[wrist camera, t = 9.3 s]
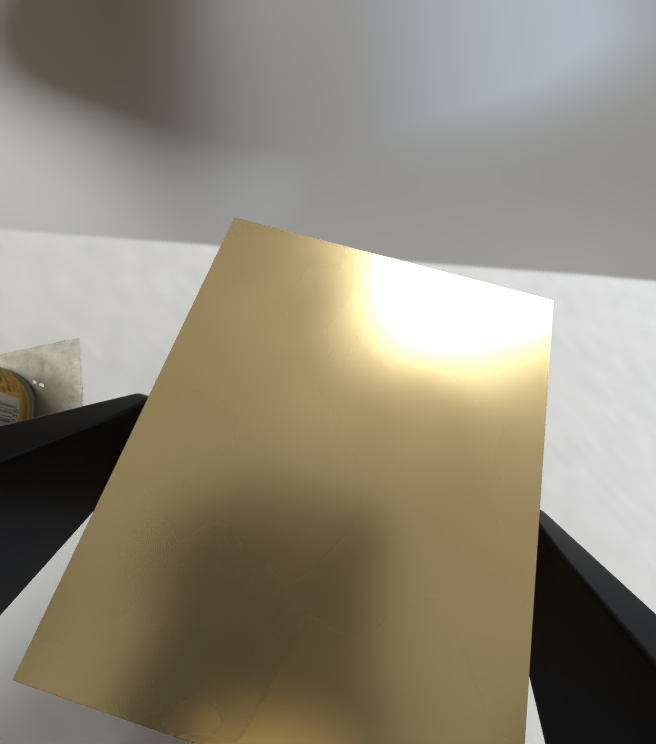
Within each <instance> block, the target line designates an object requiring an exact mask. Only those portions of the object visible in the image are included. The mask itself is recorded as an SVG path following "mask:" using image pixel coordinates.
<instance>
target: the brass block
mask: <svg viewBox="0 0 656 744" xmlns="http://www.w3.org/2000/svg"><path fill="white" fill-rule="evenodd" d="M552 312H553V300H549V299H545V298H541V297H537V296H534V295H530V294H526V293H522V292H518V291H514V290H511V289H507V288H503V287H499V286H495V285H491V284H488V283H484V282H480V281H476V280H472V279H468V278H465V277H461V276H457V275H453V274H449V273H446V272H442V271H438V270H434V269H430V268H426V267H423V266H419V265H415V264H411V263H407V262H403V261H400V260H396V259H392V258H388V257H384V256H380V255H377V254H373V253H369V252H365V251H361V250H357V249H353V248H350V247H346V246H342V245H338V244H334V243H330V242H327V241H323V240H319V239H315V238H311V237H308V236H304V235H300V234H296V233H292V232H288V231H284V230H281V229H277V228H273V227H269V226H265V225H261V224H257V223H254V222H250V221H246V220H242V219H239V218H234V220H233V222H232V224H231V226H230V228H229V230H228V232H227V234H226V236H225V238H224V241H223V243H222V245H221V247H220V249H219V251H218V253H217V255H216V257H215V259H214V261H213V263H212V265H211V268H210V270H209V272H208V274H207V276H206V278H205V280H204V282H203V284H202V286H201V288H200V290H199V293H198V295H197V297H196V299H195V301H194V303H193V305H192V307H191V309H190V311H189V313H188V316H187V318H186V320H185V322H184V324H183V326H182V328H181V330H180V332H179V334H178V336H177V338H176V341H175V343H174V345H173V347H172V349H171V351H170V353H169V355H168V357H167V359H166V361H165V364H164V366H163V368H162V370H161V372H160V374H159V376H158V378H157V380H156V382H155V384H154V386H153V389H152V391H151V393H150V395H149V397H148V399H147V401H146V403H145V405H144V407H143V409H142V412H141V414H140V416H139V418H138V420H137V422H136V424H135V426H134V428H133V430H132V432H131V434H130V437H129V439H128V441H127V443H126V445H125V447H124V449H123V451H122V453H121V455H120V457H119V460H118V462H117V464H116V466H115V468H114V470H113V472H112V474H111V476H110V478H109V480H108V482H107V485H106V487H105V489H104V491H103V493H102V495H101V497H100V499H99V501H98V503H97V505H96V508H95V510H94V512H93V514H92V516H91V518H90V520H89V522H88V524H87V526H86V528H85V530H84V533H83V535H82V537H81V539H80V541H79V543H78V545H77V547H76V549H75V551H74V553H73V556H72V558H71V560H70V562H69V564H68V566H67V568H66V570H65V572H64V574H63V576H62V578H61V581H60V583H59V585H58V587H57V589H56V591H55V593H54V595H53V597H52V599H51V601H50V604H49V606H48V608H47V610H46V612H45V614H44V616H43V618H42V620H41V622H40V624H39V626H38V629H37V631H36V633H35V635H34V637H33V639H32V641H31V643H30V645H29V647H28V649H27V652H26V654H25V656H24V658H23V660H22V662H21V664H20V666H19V668H18V670H17V672H16V674H15V677H14V679H13V681H16V682H19V683H22V684H25V685H28V686H31V687H33V688H36V689H39V690H42V691H45V692H48V693H51V694H54V695H56V696H59V697H62V698H65V699H68V700H71V701H74V702H77V703H80V704H82V705H85V706H88V707H91V708H94V709H97V710H100V711H103V712H105V713H108V714H111V715H114V716H117V717H120V718H123V719H126V720H128V721H131V722H134V723H137V724H140V725H143V726H146V727H149V728H152V729H154V730H157V731H160V732H163V733H166V734H169V735H172V736H175V737H177V738H180V739H183V740H186V741H189V742H192V743H195V744H525V731H526V715H527V700H528V684H529V669H530V653H531V638H532V622H533V607H534V591H535V576H536V560H537V545H538V529H539V514H540V498H541V483H542V467H543V452H544V436H545V421H546V405H547V390H548V374H549V359H550V343H551V328H552Z"/></svg>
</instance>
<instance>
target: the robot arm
mask: <svg viewBox="0 0 656 744" xmlns="http://www.w3.org/2000/svg"><path fill="white" fill-rule="evenodd" d="M148 397H149V396H147V395H144V394H140V393H137V394H133V395H128V396H124V397H120V398H116V399H112V400H107V401H103V402H99V403H95V404H90V405H86V406H82V407H78V408H74V409H69V410H65V411H61V412H57V413H52V414H48V415H44V416H40V417H36V418H31V419H27V420H23V421H19V422H14V423H10V424H6V425H2V426H0V615H1V614H2V613H3V612H4V610H5V609H6V608H7V607H8V606H9V605H10V604H11V603H12V602H13V600H14V599H15V598H16V597H17V596H18V595H19V594H20V593H21V591H22V590H23V589H24V588H25V587H26V586H27V585H28V584H29V582H30V581H31V580H32V579H33V578H34V577H35V576H36V575H37V574H38V572H39V571H40V570H41V569H42V568H43V567H44V566H45V565H46V563H47V562H48V561H49V560H50V559H51V558H52V557H53V556H54V555H55V553H56V552H57V551H58V550H59V549H60V548H61V547H62V546H63V544H64V543H65V542H66V541H67V540H68V539H69V538H70V537H71V536H72V534H73V533H74V532H75V531H76V530H77V529H78V528H79V527H80V525H81V524H82V523H83V522H84V521H85V520H86V519H87V518H88V517H89V515H90V514H91V513H92V512H93V511H94V510H95V508H96V505H97V503H98V501H99V499H100V497H101V495H102V493H103V491H104V489H105V487H106V485H107V482H108V480H109V478H110V476H111V474H112V472H113V470H114V468H115V466H116V464H117V462H118V460H119V457H120V455H121V453H122V451H123V449H124V447H125V445H126V443H127V441H128V439H129V437H130V434H131V432H132V430H133V428H134V426H135V424H136V422H137V420H138V418H139V416H140V414H141V412H142V409H143V407H144V405H145V403H146V401H147V399H148ZM529 677H530V681H531V685H532V690H533V694H534V698H535V702H536V706H537V711H538V715H539V719H540V723H541V728H542V732H543V736H544V740H545V744H656V614H655V613H654V612H653V611H652V610H651V609H649V608H648V607H647V606H646V605H645V604H644V603H643V602H642V601H641V600H640V599H639V598H637V597H636V596H635V595H634V594H633V593H632V592H631V591H630V590H629V589H628V588H626V587H625V586H624V585H623V584H622V583H621V582H620V581H619V580H618V579H617V578H616V577H614V576H613V575H612V574H611V573H610V572H609V571H608V570H607V569H606V568H605V567H604V566H602V565H601V564H600V563H599V562H598V561H597V560H596V559H595V558H594V557H593V556H592V555H590V554H589V553H588V552H587V551H586V550H585V549H584V548H583V547H582V546H581V545H579V544H578V543H577V542H576V541H575V540H574V539H573V538H572V537H571V536H570V535H569V534H567V533H566V532H565V531H564V530H563V529H562V528H561V527H560V526H559V525H558V524H557V523H555V522H554V521H553V520H552V519H551V518H550V517H549V516H548V515H547V514H546V513H545V512H543V511H542V510H540V514H539V529H538V545H537V560H536V576H535V591H534V607H533V622H532V638H531V653H530V669H529Z"/></svg>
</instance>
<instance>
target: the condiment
mask: <svg viewBox="0 0 656 744" xmlns="http://www.w3.org/2000/svg"><path fill="white" fill-rule="evenodd" d="M80 369H81V360H80V351H79V338H77V339H72V340H66V341H61V342H57V343H53V344H49V345H41V346H36V347H34V348H30V349H25V350H18V351H14V352H11V353H6V354H2V355H0V426H2V425H6V424H10V423H14V422H19V421H23V420H27V419H31V418H36V417H40V416H44V415H48V414H52V413H57V412H61V411H65V410H69V409H74V408H78V407H82V393H83V392H82V391H83V388H82V384H81V373H80ZM33 380H35V381H37V383H36V384H33V383H32V381H33ZM39 383H43V384H44V387H41V386H39Z"/></svg>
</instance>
